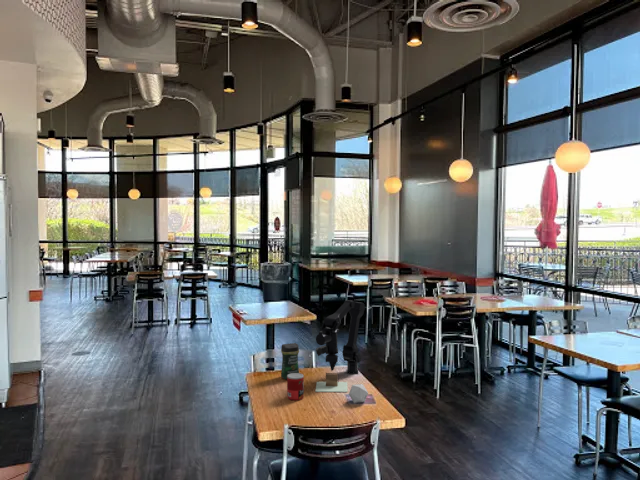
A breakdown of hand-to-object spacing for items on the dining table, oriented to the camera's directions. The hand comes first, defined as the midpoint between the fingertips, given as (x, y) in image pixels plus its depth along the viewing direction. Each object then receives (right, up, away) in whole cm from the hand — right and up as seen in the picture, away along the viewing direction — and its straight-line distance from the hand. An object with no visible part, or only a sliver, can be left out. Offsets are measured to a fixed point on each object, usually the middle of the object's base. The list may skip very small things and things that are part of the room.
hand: (332, 370), depth 249 cm
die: (+12, -7, -28) cm, 31 cm away
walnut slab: (0, -6, -7) cm, 9 cm away
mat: (0, -6, -9) cm, 11 cm away
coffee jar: (-23, -6, +7) cm, 25 cm away
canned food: (-18, -7, -23) cm, 30 cm away
